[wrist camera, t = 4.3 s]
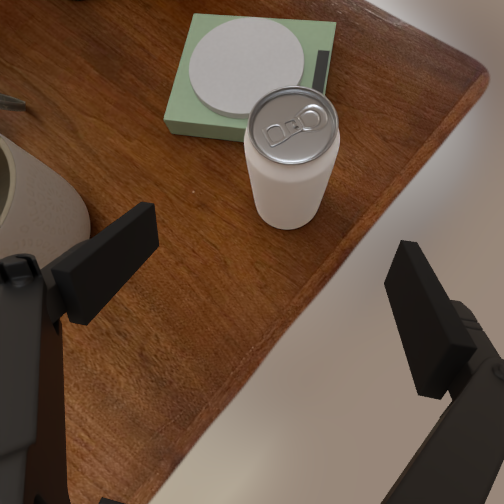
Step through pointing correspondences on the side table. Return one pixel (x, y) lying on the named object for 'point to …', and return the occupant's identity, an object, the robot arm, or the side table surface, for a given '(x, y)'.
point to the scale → (243, 70)
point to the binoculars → (11, 103)
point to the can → (290, 153)
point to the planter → (37, 208)
